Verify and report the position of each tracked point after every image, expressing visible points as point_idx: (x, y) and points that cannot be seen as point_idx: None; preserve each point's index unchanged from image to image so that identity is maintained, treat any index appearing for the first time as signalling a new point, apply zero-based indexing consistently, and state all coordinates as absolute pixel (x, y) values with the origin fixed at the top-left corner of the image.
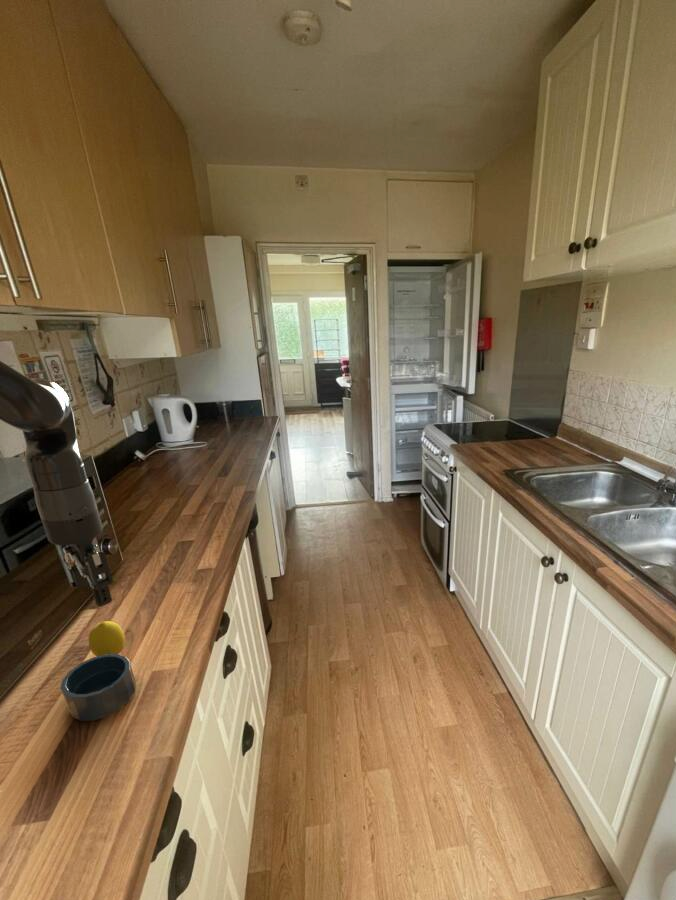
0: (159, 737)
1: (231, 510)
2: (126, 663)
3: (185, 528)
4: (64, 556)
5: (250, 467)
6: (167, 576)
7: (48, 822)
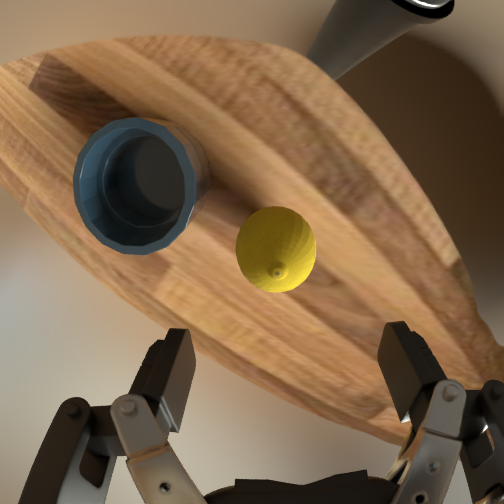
0: (45, 214)
1: None
2: (122, 247)
3: None
4: (496, 418)
5: None
6: None
7: (26, 87)
